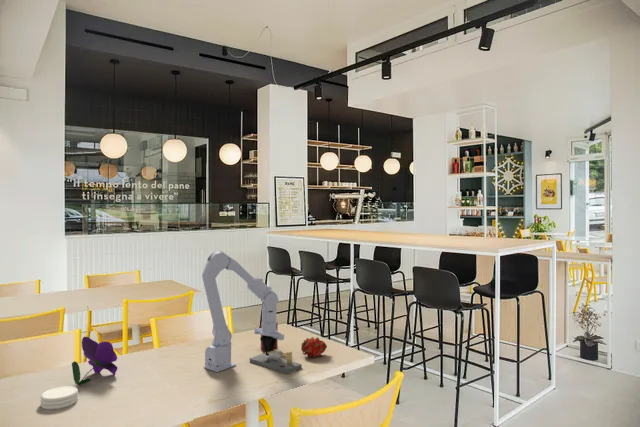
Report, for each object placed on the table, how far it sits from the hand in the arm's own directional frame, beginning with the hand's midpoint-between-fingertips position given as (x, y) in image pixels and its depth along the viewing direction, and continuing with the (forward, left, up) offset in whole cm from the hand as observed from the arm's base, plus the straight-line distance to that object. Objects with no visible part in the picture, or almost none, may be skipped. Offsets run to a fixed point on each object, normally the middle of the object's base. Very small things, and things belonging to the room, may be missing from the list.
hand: (268, 354), depth 175 cm
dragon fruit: (+17, -10, -3) cm, 20 cm away
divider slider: (-1, -3, -1) cm, 4 cm away
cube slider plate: (-1, -5, -3) cm, 6 cm away
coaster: (-67, +24, -3) cm, 72 cm away
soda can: (+11, +10, -3) cm, 15 cm away
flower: (-53, +34, -3) cm, 63 cm away
